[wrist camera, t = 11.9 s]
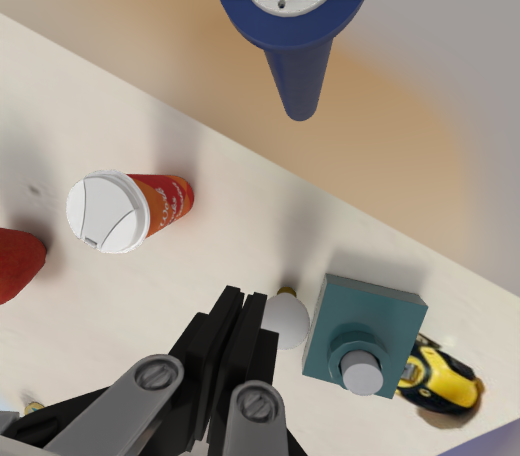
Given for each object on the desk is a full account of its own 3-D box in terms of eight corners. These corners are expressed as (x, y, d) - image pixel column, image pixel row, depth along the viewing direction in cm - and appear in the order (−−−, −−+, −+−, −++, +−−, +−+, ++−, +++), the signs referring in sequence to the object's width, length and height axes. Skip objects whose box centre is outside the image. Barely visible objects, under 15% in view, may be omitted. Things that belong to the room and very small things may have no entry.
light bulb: (317, 289, 37) (322, 334, 27) (292, 319, 38) (288, 371, 29) (281, 264, 37) (274, 301, 27) (258, 295, 38) (242, 340, 29)
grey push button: (345, 345, 33) (348, 359, 31) (382, 355, 32) (388, 369, 30) (336, 374, 34) (338, 389, 32) (371, 384, 34) (376, 400, 31)
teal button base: (325, 273, 36) (328, 290, 31) (418, 294, 35) (436, 316, 30) (302, 359, 40) (301, 386, 35) (385, 381, 38) (397, 413, 34)
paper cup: (187, 234, 38) (122, 273, 24) (140, 205, 38) (50, 229, 24) (211, 185, 36) (155, 199, 22) (162, 155, 36) (76, 151, 22)
